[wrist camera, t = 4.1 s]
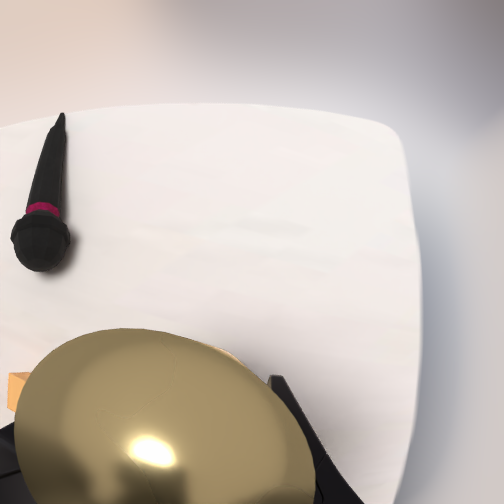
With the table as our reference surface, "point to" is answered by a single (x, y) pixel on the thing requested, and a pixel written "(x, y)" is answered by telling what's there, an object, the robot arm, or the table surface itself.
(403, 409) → the table surface
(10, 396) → the pin
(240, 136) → the table surface
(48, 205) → the microphone
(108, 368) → the ball
